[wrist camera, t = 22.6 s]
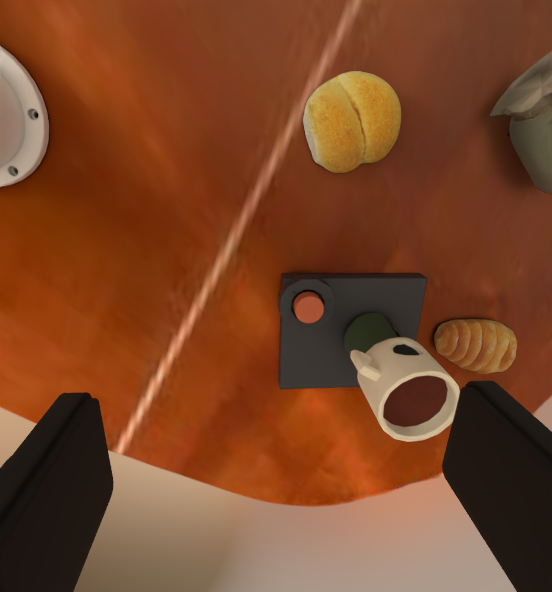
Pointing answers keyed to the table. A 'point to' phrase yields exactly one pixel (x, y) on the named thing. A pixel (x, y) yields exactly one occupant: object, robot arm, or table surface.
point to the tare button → (308, 307)
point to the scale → (340, 322)
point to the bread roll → (351, 121)
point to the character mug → (400, 380)
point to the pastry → (476, 344)
